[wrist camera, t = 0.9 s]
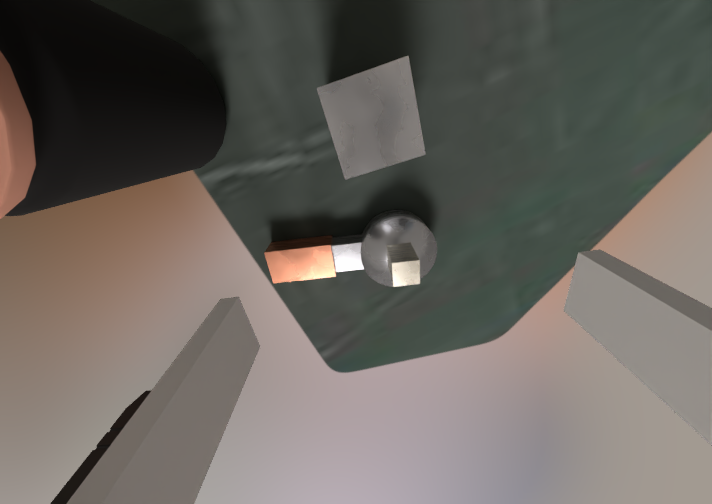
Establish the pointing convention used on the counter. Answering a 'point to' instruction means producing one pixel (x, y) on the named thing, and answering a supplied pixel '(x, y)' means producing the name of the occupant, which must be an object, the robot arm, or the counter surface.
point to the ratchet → (360, 252)
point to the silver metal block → (373, 118)
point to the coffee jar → (95, 105)
